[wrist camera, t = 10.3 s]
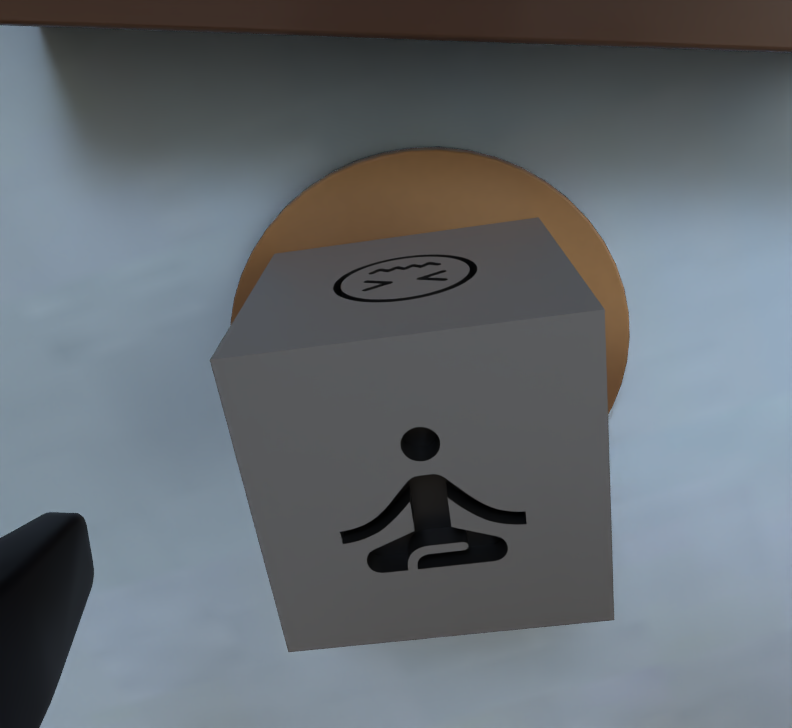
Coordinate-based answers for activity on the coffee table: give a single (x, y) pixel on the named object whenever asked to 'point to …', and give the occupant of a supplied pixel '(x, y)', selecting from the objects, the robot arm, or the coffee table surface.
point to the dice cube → (424, 436)
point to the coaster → (443, 221)
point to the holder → (443, 20)
